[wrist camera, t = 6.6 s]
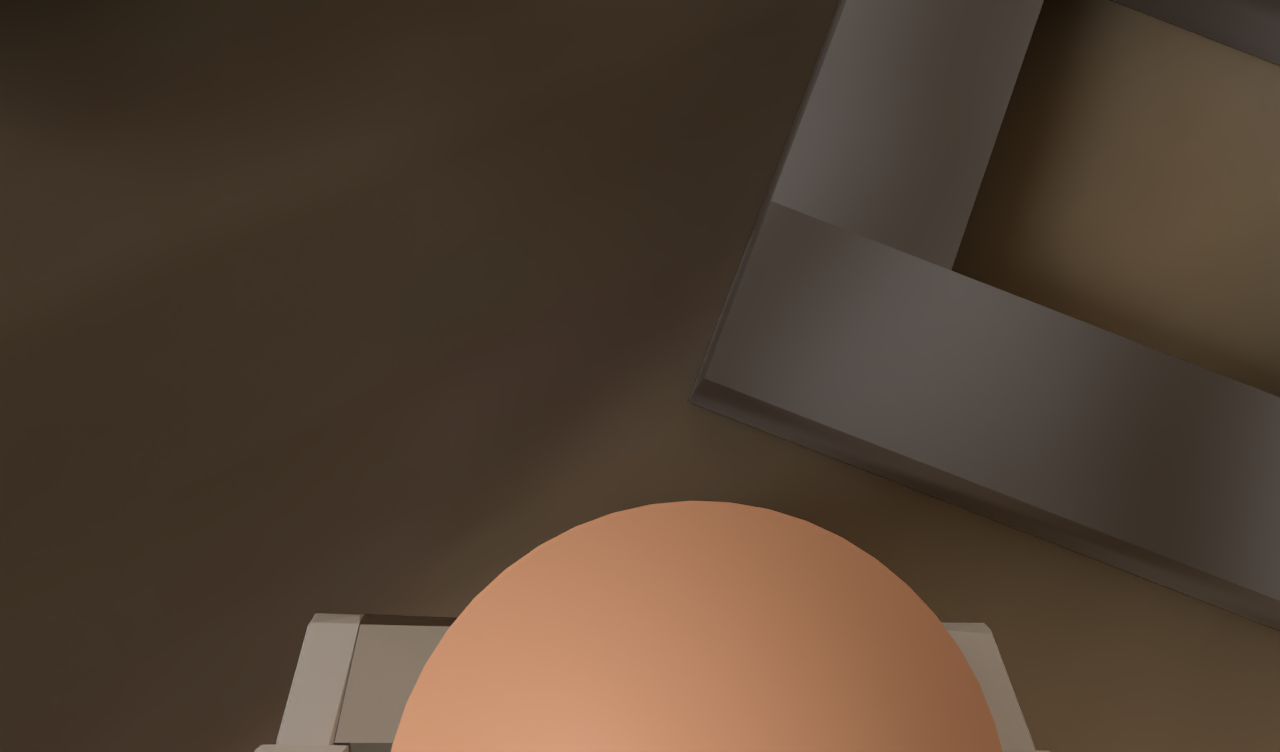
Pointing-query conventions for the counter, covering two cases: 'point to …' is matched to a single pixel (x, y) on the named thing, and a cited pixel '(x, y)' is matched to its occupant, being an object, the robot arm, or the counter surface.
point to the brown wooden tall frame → (983, 320)
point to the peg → (697, 647)
